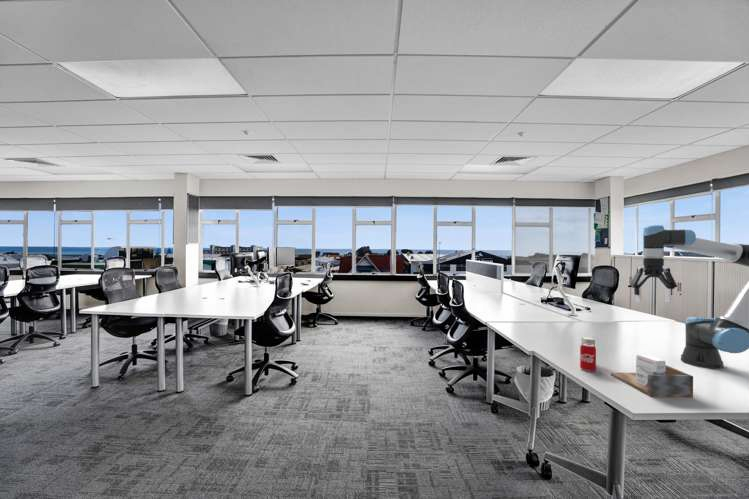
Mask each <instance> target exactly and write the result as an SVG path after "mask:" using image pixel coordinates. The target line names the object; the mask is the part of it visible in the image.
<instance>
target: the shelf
mask: <svg viewBox="0 0 749 499" xmlns="http://www.w3.org/2000/svg"><path fill="white" fill-rule="evenodd" d="M610 376H612V377H613V378H616V379H617V380H618V381H619V380H620V382H623V383H625V384H626V385H628V386H630V387H632V388H633V389H635V390H637V391H638V392H640V393H642V394H645V395H646V396H648V397H650V398H651V397H653V398H657V397H658V398H685V399H687V398H692V399H693V398H694V375H691V374H689V373H687V372H684V371H682V370H679V369H676V368H674V367H672V366H669V365H666V375H661V374H648V387H646V386H643V385H641V384H638V383H636V372H613V371H611V372H610Z"/></svg>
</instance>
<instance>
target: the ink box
mask: <svg viewBox="0 0 749 499" xmlns="http://www.w3.org/2000/svg"><path fill="white" fill-rule="evenodd" d="M635 360H636V361H635V367H636V368H635V373H636V383H638V384H641V385H643V386H646V387H648V374H661V375H666V362H667V361H666V360H664V359H661V358H658V357H654V356H651V355H649V354H636V356H635Z"/></svg>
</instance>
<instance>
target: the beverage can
mask: <svg viewBox="0 0 749 499" xmlns="http://www.w3.org/2000/svg"><path fill="white" fill-rule="evenodd" d="M579 350H580V351H579V367H580V369H582V371H585V372H590V373H591V372H595V371H596V370H597V348H596V344H595V345H593V344H590V343H582V342H581V345H580V346H579Z"/></svg>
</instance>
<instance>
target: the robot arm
mask: <svg viewBox="0 0 749 499" xmlns="http://www.w3.org/2000/svg"><path fill="white" fill-rule="evenodd" d="M642 236H643V242H642V243H643V244H642V245H643V246H642V247H643V249H642V252H643V257H644V258H643V260H642V261H643V262H642V263H643V264H642V265H643V267H637V268H636V273H635V274H634V276H633V277H632V278H633V279H632V280H631V282H630V284H629V287H632V288H634V289H633V291H634V296H635V302H637V303H642V302H643V301H642V300H643V298H642V297H643V295H642V294H643V293H642V292H643V291H642V290H643V289H642V286H643V285H644V284H645V282H646V281H647V280H648V279H650V278H658V279H659V280H660V282H661V283H662V284H663V285H664V287H665V288H664V302H665V303H672V296H673V290H674V289H676V288H677V287H678V284H677V282H676V280H675V279H674V277H673V275H672V273H671V268H670V267H663V266H664V265H665V262H664V261H665V259H664V257H665V248H669V249H672V250H673V249H674V250H678V251H683V252H689V253H695V254H697V255H703V256H708V257H712V258H719V259H723V260H725V261H726V262H728V263H731V264H736V265H741V266H745V267H748V268H749V244H743V243H737V242H735V243H725V242H722V241H721V242H720V241H715V240H710V239H705V238H699V237H697V234H696V233H695V231H693V230H692V229H685V228H684V229H665V226H664V225H646V226H644V227H643V234H642ZM747 350H749V277H748V279H747V280H746V281H745V283H744V285H743V286H742V287H741V289H740V290H739V291H738V294H737V295H736V296H735V298H734V299H733V301H732V302H731V304H730V305H729V307H728V308H727V310H726V311H725V313H723V315H720V316H717V317H716V318H712V317H698V316H697V317H695V316H694V317H693V316H688V317H686V318H685V347H684V348H683V352H682V354H681V355H680V361H681V362H683V363H685V364H688V365H690V366H691V365H692V366H696V367H700V368H705V369H706V368H707V369H715V370H716V369H718V370H719V369H723V368H724V365H725V364H724V360H722V356H721V353H720V351H721V352H725V353H729V354H741V353H744V352H746V351H747Z"/></svg>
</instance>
